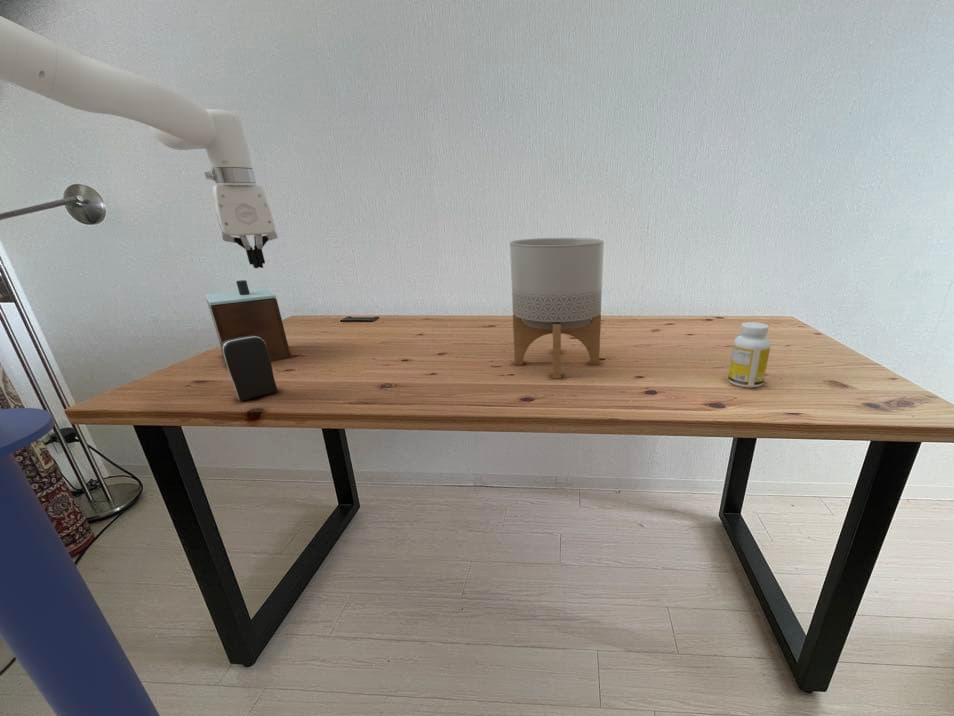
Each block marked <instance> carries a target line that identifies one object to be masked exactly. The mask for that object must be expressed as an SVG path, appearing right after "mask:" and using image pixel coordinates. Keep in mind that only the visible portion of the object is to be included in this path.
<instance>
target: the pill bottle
mask: <svg viewBox="0 0 954 716" xmlns="http://www.w3.org/2000/svg"><path fill="white" fill-rule="evenodd" d="M769 328H770V326H769V325H768V324H766V323H762V322H755V321H754V322H753V321H748V322H743V323H741V326H740V333H741V334H740V335H738V336H737V337H735V338H734V340H733V345H732V352H731V357H730V364H729V371H728V378H727V379H728V382H729V383H730V384H732V385H734V386H736V387H737V386H738V387H742V388H748V389H749V388H751V389H752V388H758V387H761V386H762V385H763V384H764V382H765V378H766V371H767V366H768V361H769V358H770V357H769V356H770V351H771V345H772V343H771V340H770V339H769V338H768V337H766V336H767V335H768V333H769Z"/></svg>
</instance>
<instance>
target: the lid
mask: <svg viewBox="0 0 954 716" xmlns="http://www.w3.org/2000/svg"><path fill="white" fill-rule="evenodd" d="M235 283H236V286H237V289H238V290H235V291H225V292H224V291H223V292H215V293H207V294H204V297H205V300H206V299H207V300H208V302H209V304H210V305H219V304H227V303H236V302H244V301H253V300H262V299H270V298H276V299H277V295H276V294H275V293H274V292H272V291H270V290H269V289H268V288H266V287H263V288H255V289H254V288H253V289H249V286H248V282H247V280H244V279H243V280H236V281H235ZM207 300H206V301H207Z"/></svg>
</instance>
